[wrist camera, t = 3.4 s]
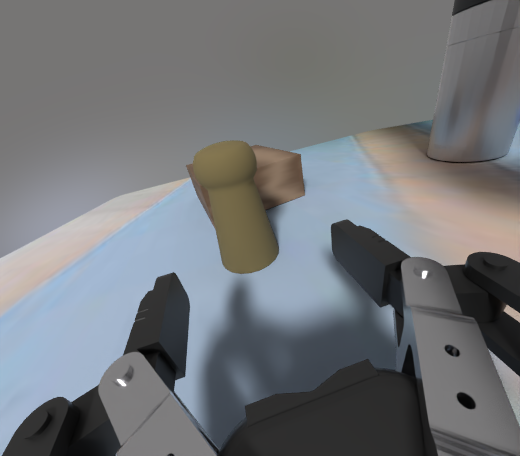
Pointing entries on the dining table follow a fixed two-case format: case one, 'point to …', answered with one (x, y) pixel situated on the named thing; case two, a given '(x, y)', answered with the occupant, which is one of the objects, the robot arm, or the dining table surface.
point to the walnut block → (266, 178)
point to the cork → (236, 206)
